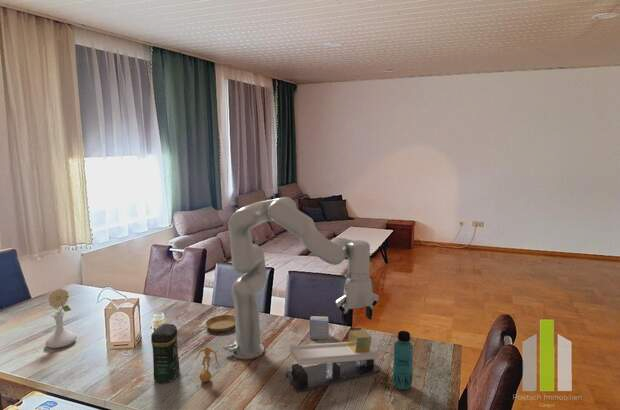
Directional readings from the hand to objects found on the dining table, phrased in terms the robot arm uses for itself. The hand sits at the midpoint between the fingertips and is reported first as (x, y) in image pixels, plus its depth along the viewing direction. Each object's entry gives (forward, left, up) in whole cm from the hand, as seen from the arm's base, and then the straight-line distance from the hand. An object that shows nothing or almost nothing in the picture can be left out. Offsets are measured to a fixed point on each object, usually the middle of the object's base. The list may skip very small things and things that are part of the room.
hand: (356, 320), depth 146 cm
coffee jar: (-66, +22, -19) cm, 72 cm away
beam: (-10, 0, -12) cm, 15 cm away
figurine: (-53, +14, -19) cm, 58 cm away
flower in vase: (-106, +64, -19) cm, 125 cm away
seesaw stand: (-10, 0, -19) cm, 21 cm away
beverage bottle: (+8, -17, -19) cm, 27 cm away
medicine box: (-4, +27, -19) cm, 33 cm away
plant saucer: (-41, +54, -19) cm, 70 cm away
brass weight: (+1, 0, -12) cm, 12 cm away
